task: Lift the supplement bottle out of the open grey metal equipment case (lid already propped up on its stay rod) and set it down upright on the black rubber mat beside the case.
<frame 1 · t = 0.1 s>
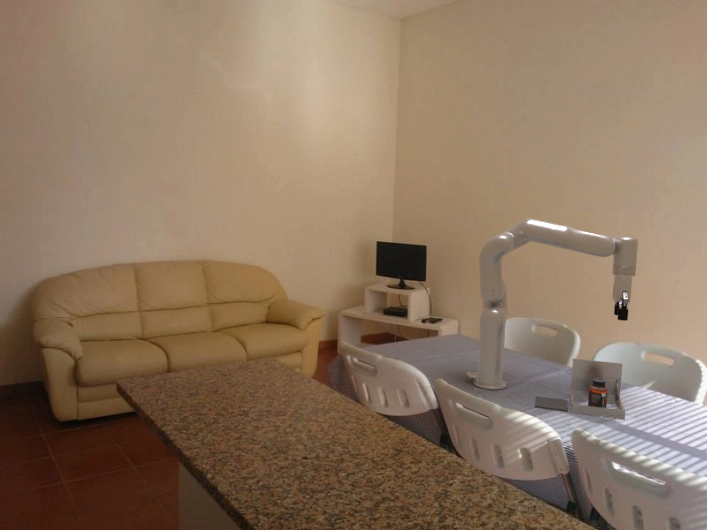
hand: (620, 317, 206), 31 cm above the table, fingers open, 9 cm apart
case: (596, 408, 200), on the table
mat: (551, 404, 203), on the table
supplement bottle: (596, 412, 198), resting in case
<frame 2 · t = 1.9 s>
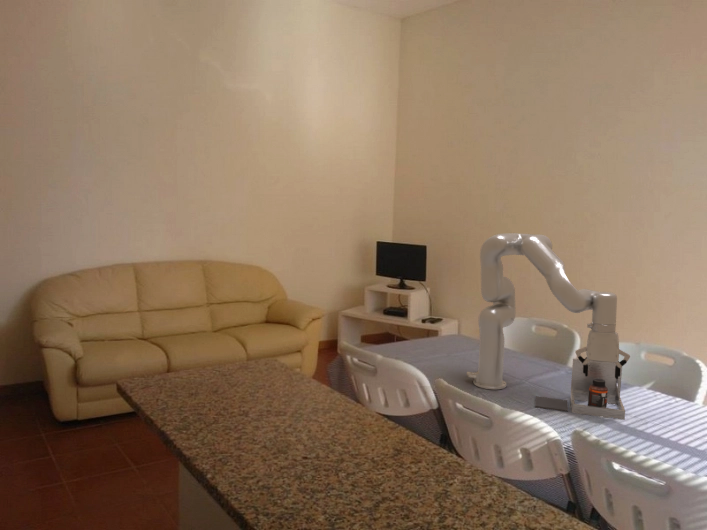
hand: (601, 376, 196), 13 cm above the table, fingers open, 9 cm apart
nothing on the table moved.
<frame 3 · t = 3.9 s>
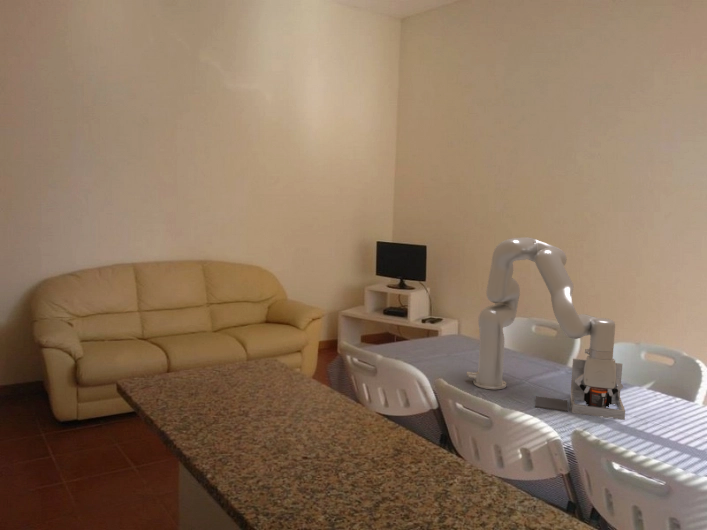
hand: (597, 404, 197), 3 cm above the table, fingers closed on supplement bottle, 6 cm apart
supplement bottle: (596, 412, 198), resting in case, touching gripper
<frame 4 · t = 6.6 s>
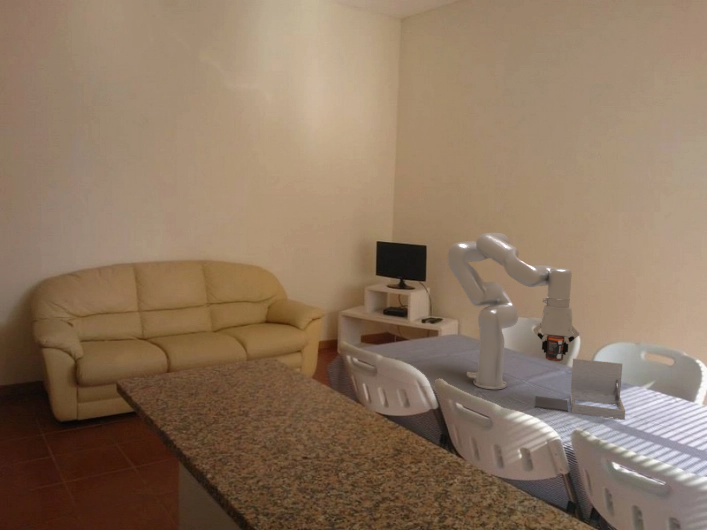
hand: (554, 352, 201), 19 cm above the table, fingers closed on supplement bottle, 6 cm apart
supplement bottle: (554, 360, 202), point 16 cm above the table, touching gripper
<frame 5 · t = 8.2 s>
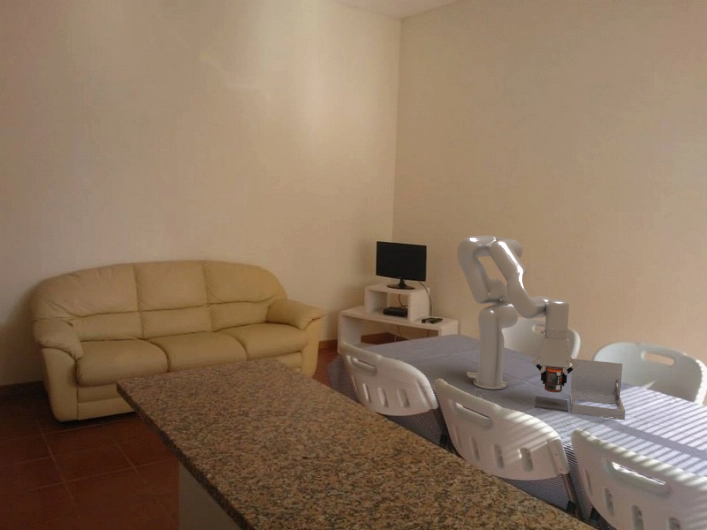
hand: (553, 383, 202), 8 cm above the table, fingers closed on supplement bottle, 6 cm apart
supplement bottle: (553, 391, 202), point 5 cm above the table, touching gripper
when the fingers open (4 cm above the table, at t = 9.7 s): supplement bottle drops 1 cm, resting on mat.
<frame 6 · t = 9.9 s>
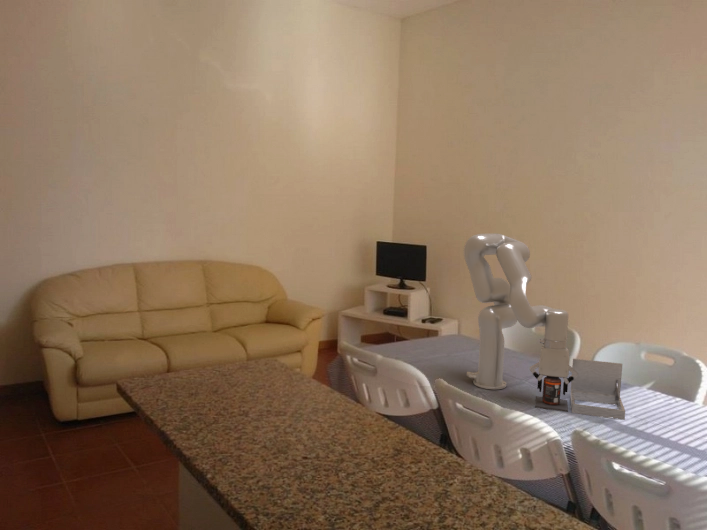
hand: (552, 392, 203), 5 cm above the table, fingers open, 7 cm apart
supplement bottle: (550, 403, 203), resting on mat
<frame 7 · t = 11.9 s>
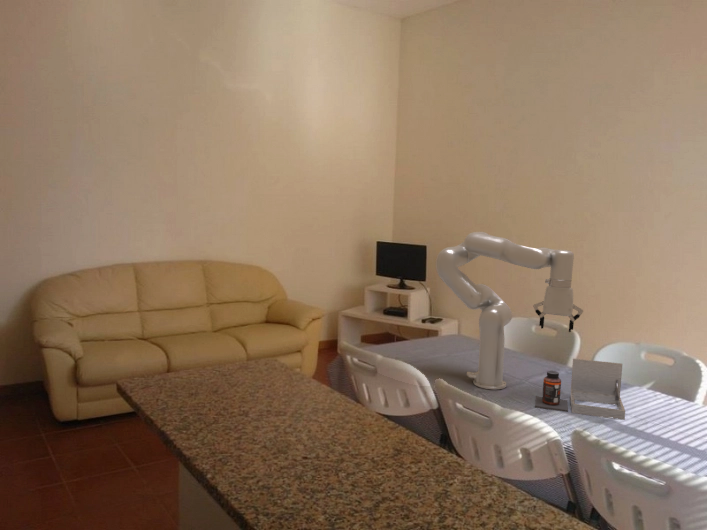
hand: (555, 329, 209), 26 cm above the table, fingers open, 9 cm apart
nothing on the table moved.
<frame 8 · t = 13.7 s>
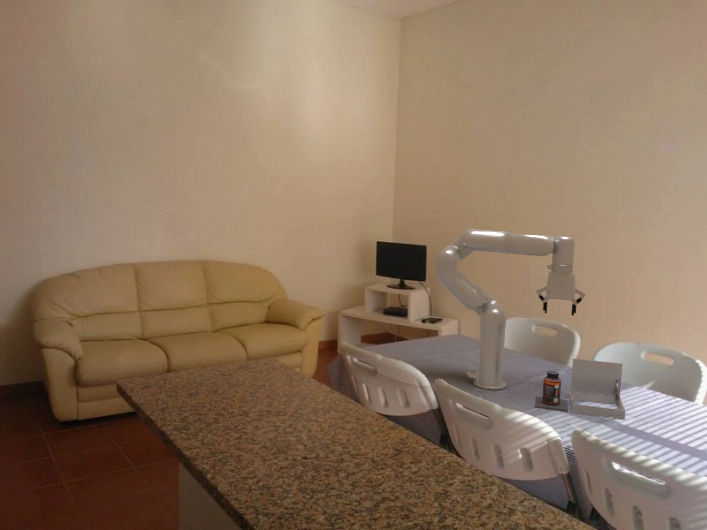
hand: (559, 313, 215), 30 cm above the table, fingers open, 9 cm apart
nothing on the table moved.
at the end: supplement bottle inside the target area on the mat (0.2 cm from its centre), point 0.4 cm above the mat's base; supplement bottle tilted 0°; the gripper is holding nothing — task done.
